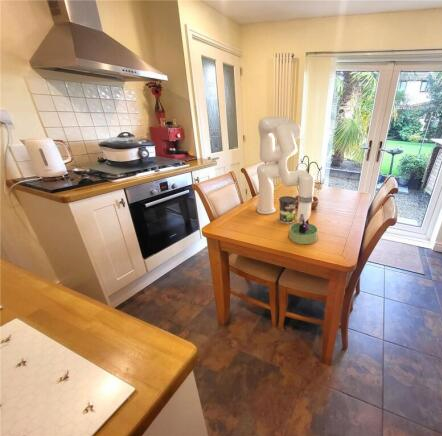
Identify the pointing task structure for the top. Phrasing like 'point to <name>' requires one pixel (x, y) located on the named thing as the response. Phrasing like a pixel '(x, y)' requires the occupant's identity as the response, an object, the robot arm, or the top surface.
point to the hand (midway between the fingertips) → (303, 230)
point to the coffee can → (287, 209)
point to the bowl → (303, 238)
